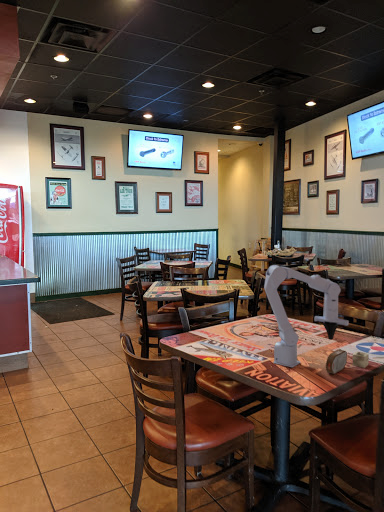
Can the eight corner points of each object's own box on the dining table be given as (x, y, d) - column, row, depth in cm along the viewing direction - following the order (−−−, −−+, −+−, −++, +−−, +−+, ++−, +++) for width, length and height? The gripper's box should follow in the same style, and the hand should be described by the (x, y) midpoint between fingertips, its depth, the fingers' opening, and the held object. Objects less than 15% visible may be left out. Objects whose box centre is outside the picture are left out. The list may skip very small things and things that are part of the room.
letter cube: (352, 365, 168) (352, 353, 168) (356, 362, 172) (356, 350, 172) (364, 368, 165) (364, 356, 165) (368, 364, 169) (368, 353, 168)
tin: (341, 365, 169) (341, 346, 168) (348, 367, 166) (348, 348, 166) (324, 375, 158) (325, 355, 158) (332, 377, 156) (332, 356, 155)
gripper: (351, 309, 169) (350, 339, 171) (318, 305, 179) (318, 334, 180) (345, 312, 164) (345, 343, 165) (312, 308, 174) (312, 337, 175)
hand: (330, 339), depth 172 cm, fingers closed
